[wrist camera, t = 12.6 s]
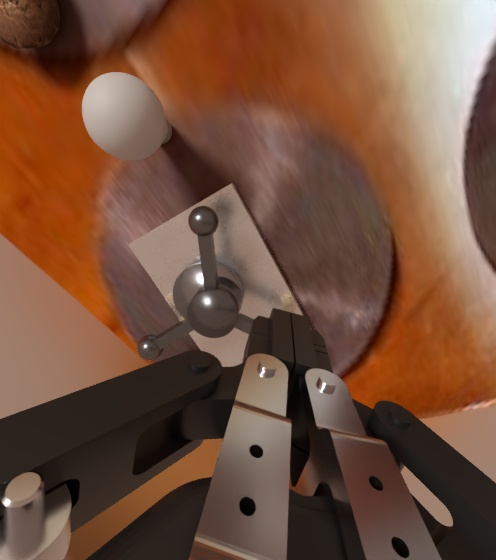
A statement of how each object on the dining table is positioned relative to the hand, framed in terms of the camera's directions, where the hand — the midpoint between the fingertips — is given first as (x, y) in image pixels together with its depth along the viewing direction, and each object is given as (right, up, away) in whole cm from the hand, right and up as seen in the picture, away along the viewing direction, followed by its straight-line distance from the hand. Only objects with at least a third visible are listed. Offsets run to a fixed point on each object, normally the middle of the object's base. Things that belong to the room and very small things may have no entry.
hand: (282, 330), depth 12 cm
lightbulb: (-10, +18, +18) cm, 27 cm away
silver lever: (-5, +3, +21) cm, 21 cm away
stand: (-4, +1, +24) cm, 24 cm away
